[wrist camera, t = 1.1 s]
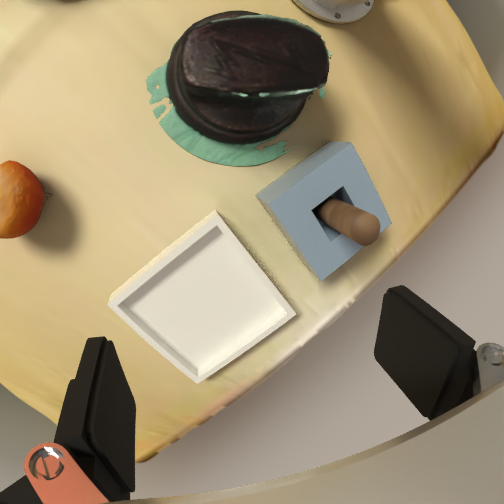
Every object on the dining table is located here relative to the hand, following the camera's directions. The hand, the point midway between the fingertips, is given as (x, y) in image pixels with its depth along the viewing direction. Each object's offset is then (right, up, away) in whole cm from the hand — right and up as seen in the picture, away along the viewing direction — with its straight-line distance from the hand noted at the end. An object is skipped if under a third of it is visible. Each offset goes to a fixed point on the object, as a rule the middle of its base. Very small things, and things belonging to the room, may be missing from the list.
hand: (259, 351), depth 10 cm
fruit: (-26, +10, +19) cm, 34 cm away
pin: (+8, +9, +27) cm, 29 cm away
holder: (+8, +9, +28) cm, 30 cm away
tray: (-6, -3, +29) cm, 29 cm away
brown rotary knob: (-2, +22, +21) cm, 31 cm away
